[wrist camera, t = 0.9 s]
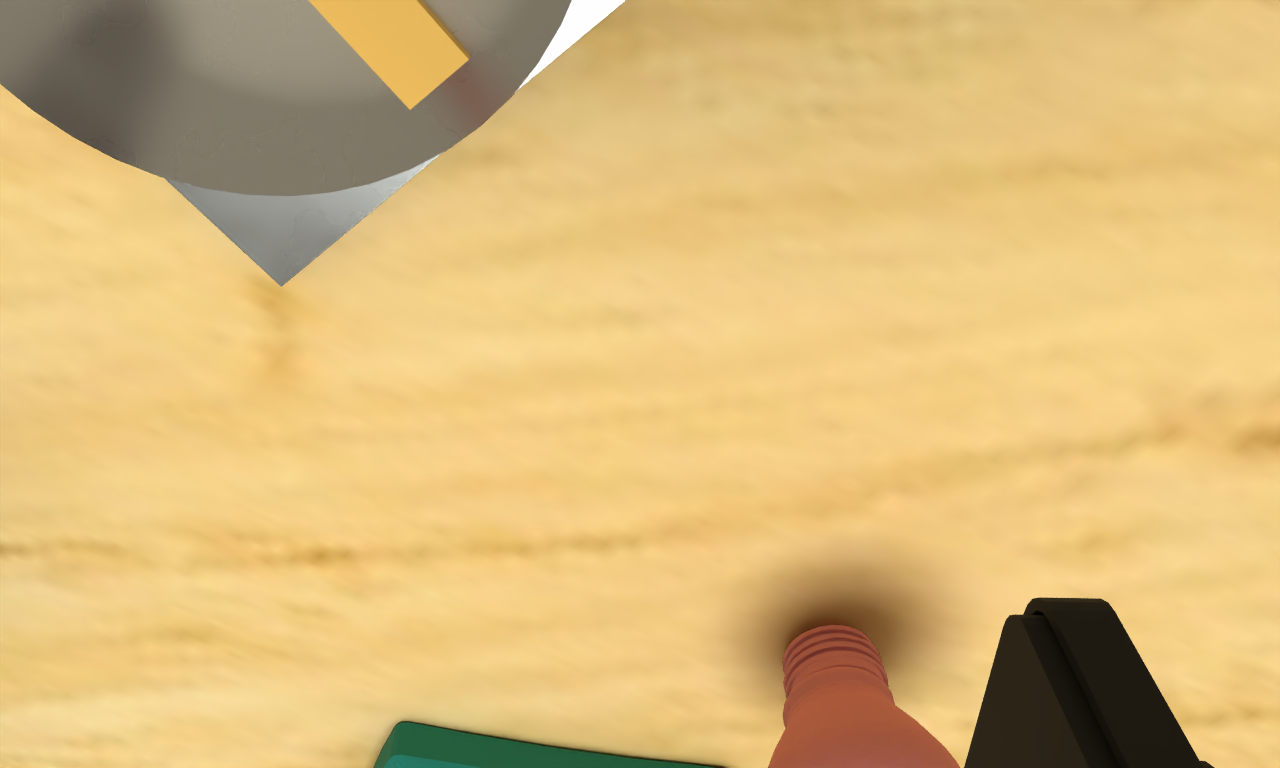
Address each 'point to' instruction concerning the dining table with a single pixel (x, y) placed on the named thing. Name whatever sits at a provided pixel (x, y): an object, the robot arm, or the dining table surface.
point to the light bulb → (847, 709)
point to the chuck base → (309, 224)
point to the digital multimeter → (491, 752)
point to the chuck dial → (272, 82)
